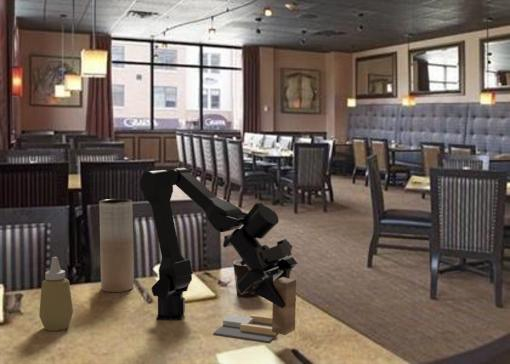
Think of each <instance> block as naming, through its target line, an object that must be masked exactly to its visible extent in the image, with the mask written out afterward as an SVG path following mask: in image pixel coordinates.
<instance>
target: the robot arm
mask: <svg viewBox="0 0 510 364" xmlns="http://www.w3.org/2000/svg"><path fill="white" fill-rule="evenodd" d="M139 184H140V185H139V186H140V188H141V191H142V194H143V198H145V199H146V200H147V202H148V203H149V204H150V206H151V210H152V214H153V220H154V225H155V229H156V234H157V240H158V244H159V249H160V254H161V260H160V263H159V267H158V278H159V279H158V280H157V281H156V282H155V283H154V285H152V287H151V292H152V296H154V297H157V315H156V318H155V319H156V320H181V319H182V317H183V316H184V315H185V313H186V298H185V297H184V296H183V295H184V294H183V293H185V292H187V291H188V289H189V285H191V282H192V280H193V276H192V275H193V274H194V272H193V270H192V265H191V264H192V262H191V260H190V259H189V258H188V259H185V258H184V257H183V255H182V254H181V251H180V246H179V241H178V235H177V231H176V224H175V220H174V214H173V210H172V205H171V200H172V197H173V192H174V186H176V187H177V188H178V189H180V190H181V191H182V192H183V193H184V194H185V195H186V196H187V197H189V199H190V200H191V201H192V202H194V203H195V204H196V205H197V206H198V207H199V208H200V209H201V210H202V211H203V212H204V213H205V216H206V218H207V219H206V220H207V221H208V223H210V225H211V226H212V227H213V229H214V230H215V231H217V232H218V233H225V232H226V233H227V232H231V231H232V232H231V234H227V235H224V236H223V237H224V239H223V240H224V241H223V245H222V247H223V248H227V247H231V246H232V248H233V249H234V250H235V251H236V253H237V255H238V256H239V257H240V258H241V259H242V261H241V262H240V264H241V265H242V266H244V265H246V266H247V267H248V268H249V270H250V271H248V272H247V273H246V274H245V275H244V276H243V277H242V278H241V279H240V280H239V281H238V282H237V289H238V291H239V292H240V294H241V295H242V294H244V293H247V292H248V291H249V287H250V286H251V285H252V284H253V287H254V289H253V290H252V291H251V293H252V294H253V293H254V294H256V295H257V296H258V297H261V298H263V299H264V300H266V301H269V302H270V303H272V304H273V303H274V304H276V305H277V306H279V307H281V308H283V307H284V306H285V303H284V301H283V299H282V298H281V296H280V294H279V293H278V291H277V289H276V288H275V286H274V284H273V281H275V280H277V279H279V278H282V277H286V278H290V276H291V272H292V270H293V268H295V267H296V266H297V265H298V261H296V259H295V258H294V257H293V256H292V255H293V254H292V250H293V244H291V243H290V241H288V240H287V239H286V238H283V239H281V240H278V241H277V242H276V245H274V246H272V247H269V246H268V245H266V244H264V245H262V244H261V242H260V241H259V240H261V239H263V238H265V236H267V235H268V234H269V233H270V231H272V230H273V229H274V227H275V226H276V225H278V223H279V221H280V220H279V219H280V218H279V216H278V213H276V211H275V210H272V208H269V206H266V205H264V204H263V202H255V204H254V205H253V206H252V208H251V209H250V210H249V211H248V212H245V211H243V210H241V208H240V207H238V206H236V205H235V204H233V203H231V202H229V201H227V200H224V199H221V198H220V197H217V195H216V194H214V193H213V192H212V191H211V190H210V189H209V188H208V187H207V186H206V185H204V184H203V183H202V182H201V181H200V180H199V179H197V178H196V177H195V176H194V174H192V173H191V172H190V170H189V169H188V168H186V167H177V168H172V169H169V170H165V169H161V170H151V171H148V170H147V171H144V172H143V174H142V175H141V177H140V178H139ZM258 239H259V240H258ZM241 259H240V260H241Z"/></svg>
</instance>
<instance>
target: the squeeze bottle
mask: <svg viewBox="0 0 510 364" xmlns="http://www.w3.org/2000/svg"><path fill="white" fill-rule="evenodd" d="M44 275H45V277H44V278H45V279H44V280H43V281H42V282H41V288H40V298H39V299H40V300H39V301H40V302H39V314H38V316H39V318H40V321H41V324H42V326H43V328H44V329H45V331H46V330H47V331H49V332H50V331H51V332H57V331H63V330H65V329H67V328H68V327H69V326H70V323H71V320H72V317H73V314H74V313H73V312H74V308H73V300H72V293H71V286H70V280H69V279H68V278H66V271H65V270H63V269H61V266H60V261H59V259H58V256H52V258H51V264H50V268H49V270H47V271H45V273H44Z"/></svg>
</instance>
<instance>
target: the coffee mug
mask: <svg viewBox="0 0 510 364" xmlns="http://www.w3.org/2000/svg"><path fill="white" fill-rule="evenodd" d="M241 261H242V259H236V260H234V261H233V264H232V265H233V272H234V280H235V283H234V284H235V290H236V296H237V297H239V298H245V299H246V298H247V299H249V298H250V299H252V298H255V297H257V296H258V295H256V294H254V293H253V294H252V293H251V291H252V290H253V289H254V287H253V284H252V285H251V286H250V287H249V291H248V292H247V293H244V294H242V295H241V294H240V292H239V291H238V289H237V282H238V281H239V280H240V279H241V278H242V277H243V276H244V275H245V274H246V273H247V272H248V271H250V270H249V268H248V267H247V266H246V265H244V266H242V265H241V264H240V262H241Z"/></svg>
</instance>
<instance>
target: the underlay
mask: <svg viewBox="0 0 510 364" xmlns="http://www.w3.org/2000/svg"><path fill="white" fill-rule="evenodd" d="M212 335H217V336H223V337H229V338H237V339H241V340H250V341H257V342H262V343H263V342H264V343H271V341H272V340H273V339H274V338H275V337H276V336H277V335H279V334H278V333H274V332H272V316H268V315H260V314H255V313H252V314H251V315H250V317H247V316H241V315H240V316H239V315H232V314H230V315H228V316H227V317H226V318H225V319H223V320H222V325H221V326H220V327H218V328H217V329H216V330H215V331H214V332H213V334H212Z"/></svg>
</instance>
